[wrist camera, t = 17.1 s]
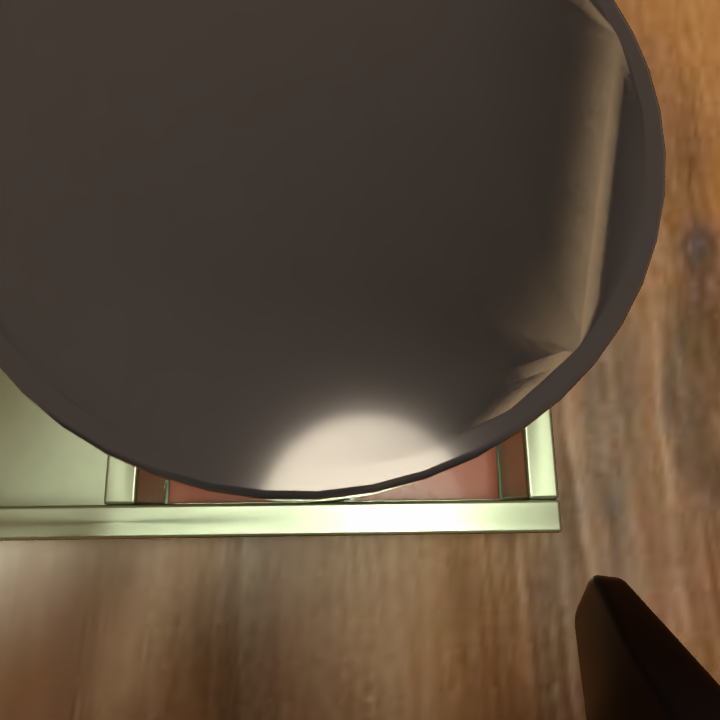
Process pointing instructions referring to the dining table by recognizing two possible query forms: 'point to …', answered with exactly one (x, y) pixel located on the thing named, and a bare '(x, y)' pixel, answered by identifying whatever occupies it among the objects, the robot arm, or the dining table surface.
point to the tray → (252, 515)
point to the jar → (317, 227)
